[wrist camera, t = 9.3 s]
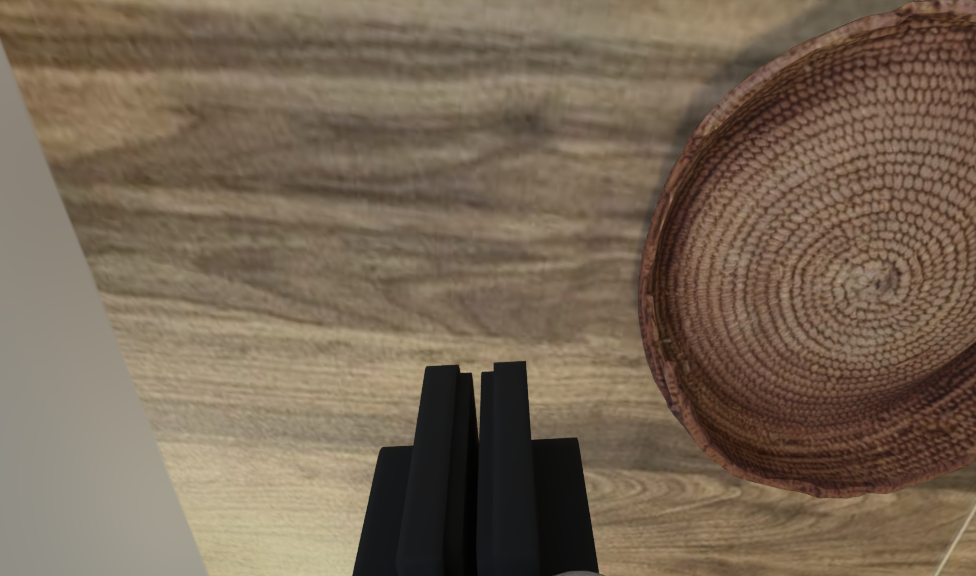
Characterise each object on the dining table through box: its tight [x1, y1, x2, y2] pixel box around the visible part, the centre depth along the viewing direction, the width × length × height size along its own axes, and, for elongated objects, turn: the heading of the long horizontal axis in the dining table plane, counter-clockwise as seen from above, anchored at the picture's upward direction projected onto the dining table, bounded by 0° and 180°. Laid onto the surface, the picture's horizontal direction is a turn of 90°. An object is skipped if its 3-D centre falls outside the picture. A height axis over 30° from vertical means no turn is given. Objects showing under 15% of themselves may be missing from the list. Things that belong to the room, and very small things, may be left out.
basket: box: [638, 0, 976, 498], centre depth 30 cm, size 22×20×5 cm
